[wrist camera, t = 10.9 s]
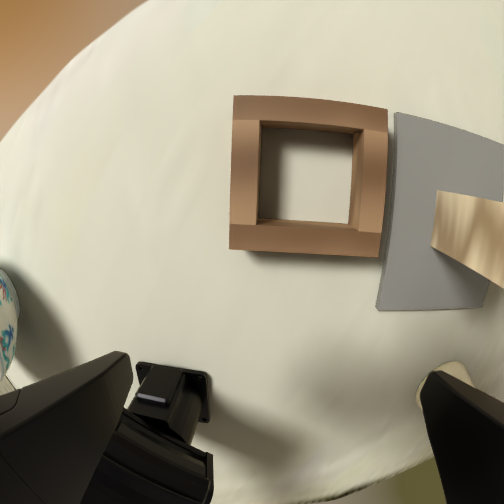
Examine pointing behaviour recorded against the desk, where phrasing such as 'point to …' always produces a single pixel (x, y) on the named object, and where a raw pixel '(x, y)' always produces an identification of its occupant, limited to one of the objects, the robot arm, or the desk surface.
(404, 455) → the desk surface
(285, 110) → the collar
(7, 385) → the supplement box
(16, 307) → the chinaware
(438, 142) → the rubber mat
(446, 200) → the peg
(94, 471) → the robot arm
